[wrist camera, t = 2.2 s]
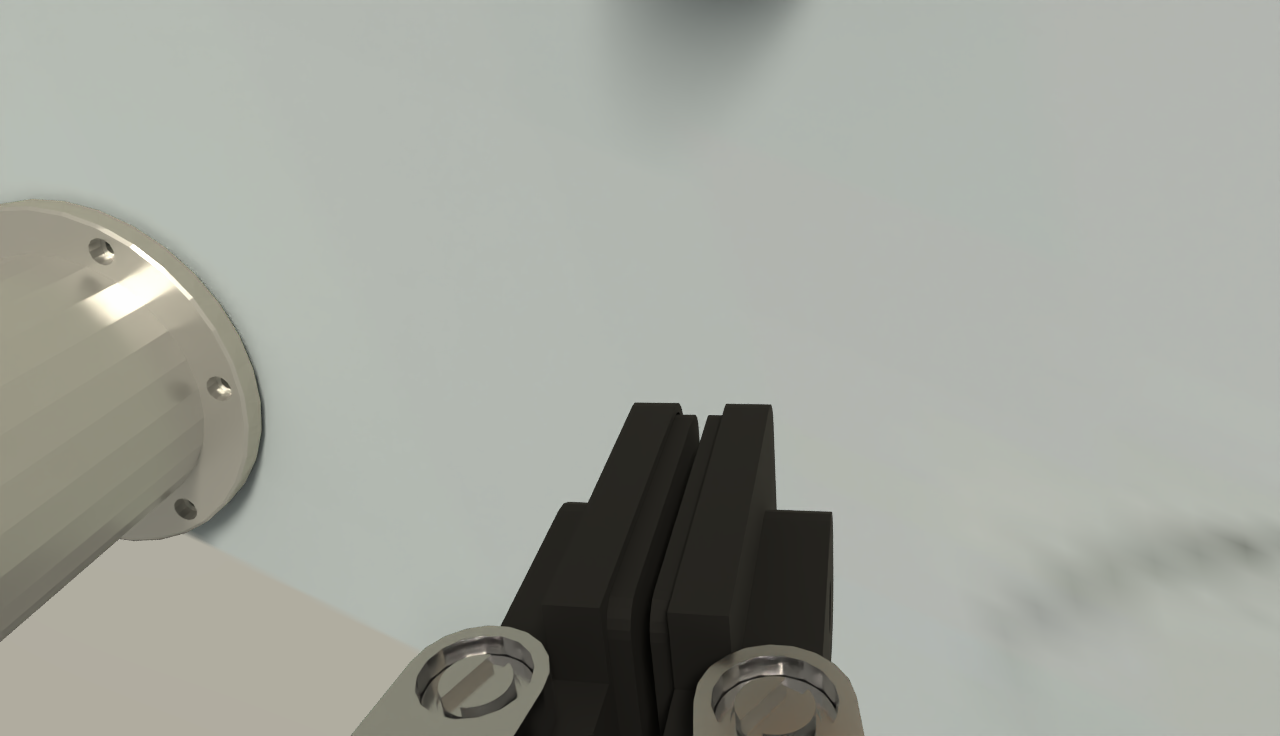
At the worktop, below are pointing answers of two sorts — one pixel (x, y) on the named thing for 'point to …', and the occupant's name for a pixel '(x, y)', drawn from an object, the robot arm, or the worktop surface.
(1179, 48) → the worktop surface
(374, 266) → the worktop surface
